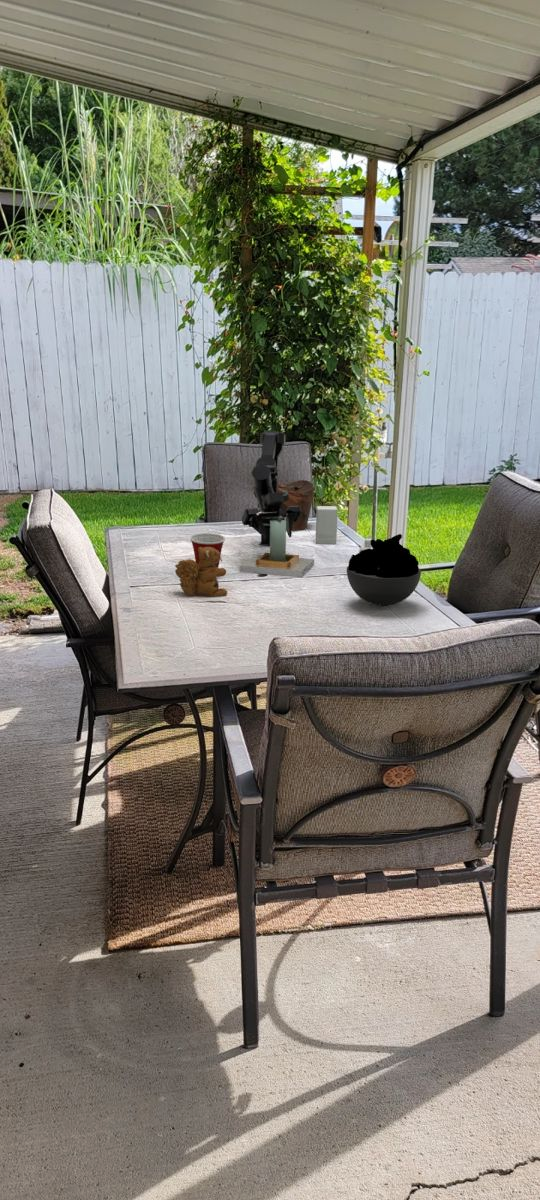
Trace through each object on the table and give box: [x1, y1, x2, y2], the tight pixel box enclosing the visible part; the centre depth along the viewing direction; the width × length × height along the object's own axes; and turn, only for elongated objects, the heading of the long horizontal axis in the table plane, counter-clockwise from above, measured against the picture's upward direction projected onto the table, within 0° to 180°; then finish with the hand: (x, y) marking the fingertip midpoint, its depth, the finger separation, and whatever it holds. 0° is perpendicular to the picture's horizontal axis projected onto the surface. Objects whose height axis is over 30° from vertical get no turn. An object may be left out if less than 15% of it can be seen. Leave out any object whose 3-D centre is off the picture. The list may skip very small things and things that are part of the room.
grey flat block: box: [239, 552, 315, 578], centre depth 275 cm, size 20×16×4 cm
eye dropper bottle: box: [358, 534, 373, 553], centre depth 270 cm, size 4×6×12 cm
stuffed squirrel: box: [174, 547, 228, 597], centre depth 244 cm, size 10×14×13 cm
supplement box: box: [315, 505, 339, 545], centre depth 313 cm, size 7×7×13 cm
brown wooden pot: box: [277, 479, 315, 531], centre depth 336 cm, size 18×20×18 cm
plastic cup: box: [189, 532, 226, 568], centre depth 264 cm, size 11×11×12 cm
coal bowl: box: [346, 533, 422, 607], centre depth 235 cm, size 20×20×19 cm
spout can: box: [269, 516, 287, 562], centre depth 273 cm, size 5×5×15 cm
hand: (278, 537), depth 272 cm, fingers open, 8 cm apart
